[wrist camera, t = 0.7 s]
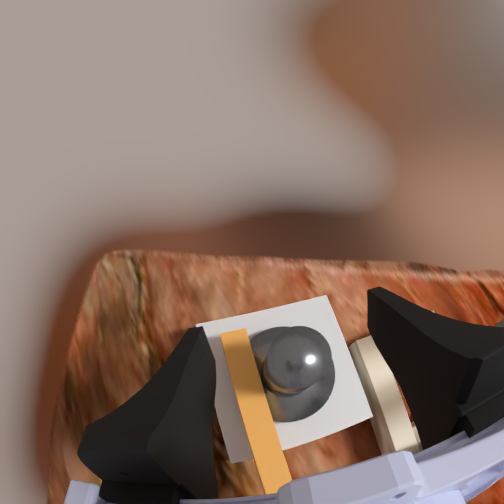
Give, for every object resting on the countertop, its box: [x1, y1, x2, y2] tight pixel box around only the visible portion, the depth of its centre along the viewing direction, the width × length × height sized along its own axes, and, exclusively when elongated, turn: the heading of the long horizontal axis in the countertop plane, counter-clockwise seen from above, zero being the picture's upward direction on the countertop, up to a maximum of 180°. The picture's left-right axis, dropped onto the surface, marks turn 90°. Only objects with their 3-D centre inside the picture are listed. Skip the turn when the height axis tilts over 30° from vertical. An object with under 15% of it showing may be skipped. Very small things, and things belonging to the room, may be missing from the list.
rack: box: [348, 310, 434, 455], centre depth 23 cm, size 14×10×3 cm
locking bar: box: [220, 328, 292, 495], centre depth 19 cm, size 15×2×1 cm, turn 15°
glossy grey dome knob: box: [249, 326, 335, 423], centre depth 22 cm, size 8×8×9 cm
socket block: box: [196, 295, 373, 464], centre depth 24 cm, size 12×12×3 cm
